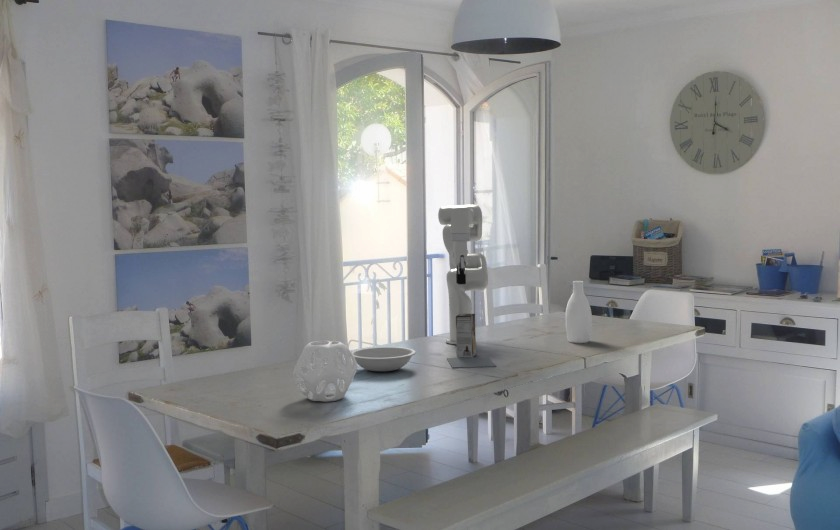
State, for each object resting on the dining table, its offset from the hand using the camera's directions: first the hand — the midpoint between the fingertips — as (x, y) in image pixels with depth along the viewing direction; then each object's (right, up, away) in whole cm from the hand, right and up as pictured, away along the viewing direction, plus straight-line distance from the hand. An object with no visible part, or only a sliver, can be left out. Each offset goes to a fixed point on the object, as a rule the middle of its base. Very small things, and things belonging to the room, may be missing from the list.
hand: (461, 283), depth 341 cm
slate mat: (+3, -29, -24) cm, 38 cm away
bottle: (+50, -25, +19) cm, 59 cm away
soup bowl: (-30, -31, -34) cm, 55 cm away
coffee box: (+2, -28, -11) cm, 30 cm away
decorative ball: (-46, -34, -76) cm, 95 cm away
